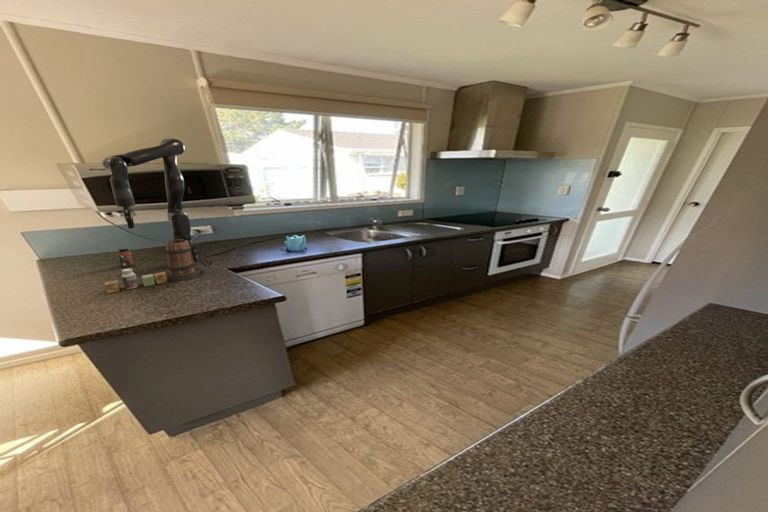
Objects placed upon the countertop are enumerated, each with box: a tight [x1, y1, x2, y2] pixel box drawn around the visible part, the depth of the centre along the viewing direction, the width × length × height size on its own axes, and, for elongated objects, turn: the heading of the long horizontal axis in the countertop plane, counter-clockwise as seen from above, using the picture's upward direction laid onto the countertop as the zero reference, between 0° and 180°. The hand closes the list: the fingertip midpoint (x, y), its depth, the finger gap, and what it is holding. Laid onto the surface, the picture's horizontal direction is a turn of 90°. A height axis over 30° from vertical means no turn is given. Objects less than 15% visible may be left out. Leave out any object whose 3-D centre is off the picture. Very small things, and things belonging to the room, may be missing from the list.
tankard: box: [164, 239, 213, 281], centre depth 164 cm, size 24×17×20 cm
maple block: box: [154, 271, 168, 285], centre depth 155 cm, size 5×5×5 cm
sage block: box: [141, 273, 156, 287], centre depth 152 cm, size 5×5×5 cm
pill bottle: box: [121, 267, 139, 290], centre depth 147 cm, size 5×5×10 cm
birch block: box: [104, 279, 121, 294], centre depth 143 cm, size 5×5×5 cm
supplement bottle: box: [117, 247, 135, 268], centre depth 175 cm, size 6×6×11 cm
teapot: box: [283, 234, 307, 252], centre depth 215 cm, size 15×15×11 cm
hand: (131, 226), depth 155 cm, fingers open, 8 cm apart
